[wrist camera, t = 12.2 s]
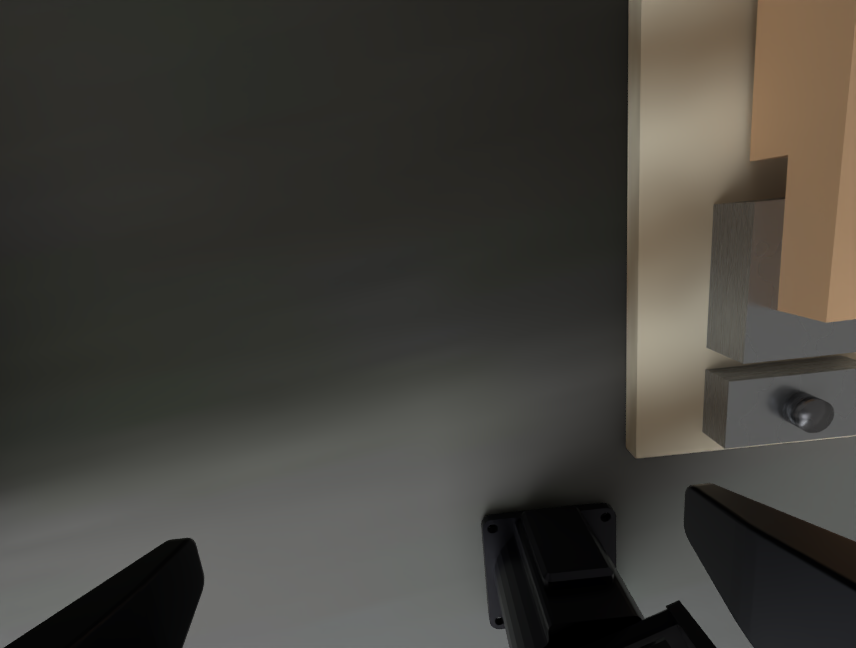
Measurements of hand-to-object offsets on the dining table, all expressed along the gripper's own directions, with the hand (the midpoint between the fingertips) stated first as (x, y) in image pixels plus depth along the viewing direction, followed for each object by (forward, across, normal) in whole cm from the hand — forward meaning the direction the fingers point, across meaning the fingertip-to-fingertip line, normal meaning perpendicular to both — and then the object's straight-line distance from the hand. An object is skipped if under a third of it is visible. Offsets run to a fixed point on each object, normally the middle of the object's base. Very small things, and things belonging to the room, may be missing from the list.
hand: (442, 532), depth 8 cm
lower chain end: (+11, -15, 0) cm, 19 cm away
